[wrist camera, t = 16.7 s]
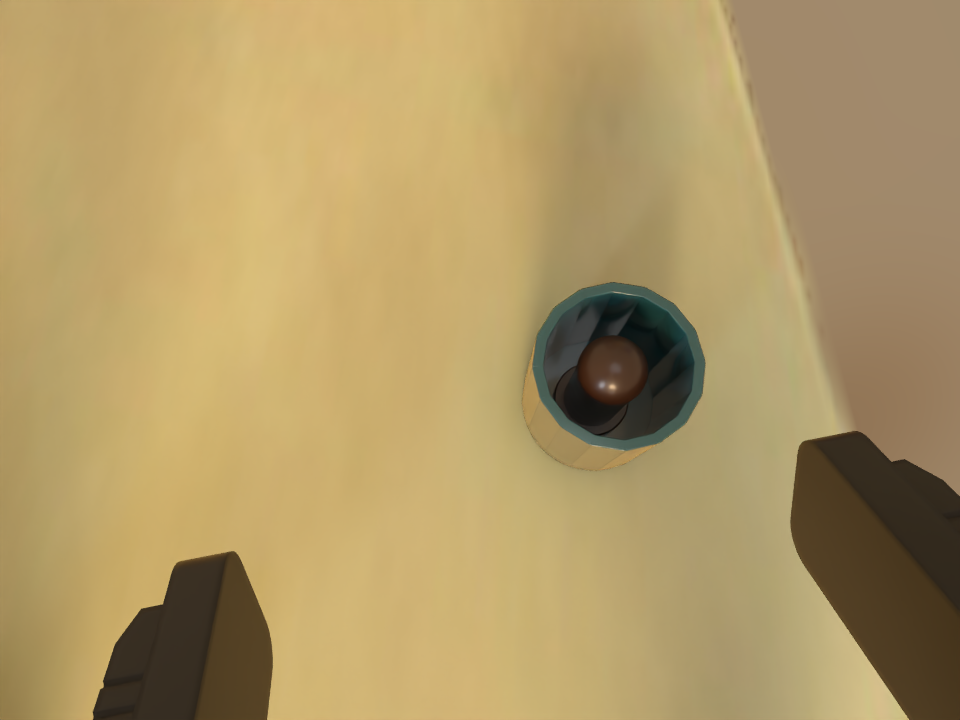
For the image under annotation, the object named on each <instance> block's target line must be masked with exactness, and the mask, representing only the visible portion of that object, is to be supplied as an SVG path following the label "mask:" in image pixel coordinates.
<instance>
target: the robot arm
mask: <svg viewBox="0 0 960 720" xmlns="http://www.w3.org/2000/svg"><path fill="white" fill-rule="evenodd" d="M790 523H791V533H792V537H793V541H794V545H795V548H796V550H797V553H798V555H799V557H800V559H801V561H802V563H803V564H804V566H805V567H806V569H807V570H808V572H809V573H810V575H811V576H812V578H813V579H814V580H815V582H816V583H817V585H818V586H819V588H820V589H821V591H822V592H823V594H824V595H825V597H826V598H827V600H828V601H829V602H830V604H831V605H832V607H833V608H834V610H835V611H836V613H837V614H838V616H839V617H840V619H841V620H842V622H843V623H844V624H845V626H846V627H847V629H848V630H849V632H850V633H851V635H852V636H853V638H854V639H855V641H856V642H857V644H858V645H859V646H860V648H861V649H862V651H863V652H864V654H865V655H866V657H867V658H868V660H869V661H870V663H871V664H872V666H873V667H874V669H875V670H876V671H877V673H878V674H879V676H880V677H881V679H882V680H883V682H884V683H885V685H886V686H887V688H888V689H889V691H890V692H891V693H892V695H893V696H894V698H895V699H896V701H897V702H898V704H899V705H900V707H901V708H902V710H903V711H904V713H905V714H906V715H907V717H908V718H909V720H960V496H959V495H958V494H956V492H955V491H954V490H952V489H951V488H950V487H949V486H948V485H947V484H946V483H945V482H944V481H943V480H942V479H940V478H938V477H936V476H934V475H933V474H931V473H929V472H927V471H925V470H923V469H921V468H920V467H918V466H916V465H914V464H912V463H910V462H909V461H907V460H905V459H904V460H898V461H893V462H891V461H890V460H889V459H888V458H887V457H886V456H885V455H884V454H883V453H882V452H881V451H880V450H879V449H878V448H877V447H876V445H874V443H873V442H872V441H871V440H870V439H869V438H868V437H867V436H865V435H864V434H863V433H861V432H858V431H852V432H847V433H842V434H837V435H832V436H827V437H822V438H817V439H812V440H807V441H804V442H802V443H801V445H800V446H799V449H798V454H797V464H796V473H795V482H794V491H793V501H792V510H791V521H790ZM272 668H273V655H272V644H271V638H270V633H269V629H268V625H267V623H266V620H265V618H264V615H263V613H262V610H261V608H260V605H259V603H258V601H257V598H256V596H255V593H254V591H253V588H252V586H251V584H250V581H249V579H248V576H247V574H246V571H245V569H244V566H243V564H242V562H241V560H240V558H239V556H238V555H237V553H236V552H234V551H231V552H226V553H221V554H215V555H210V556H205V557H200V558H195V559H190V560H185V561H180V562H178V563H177V564H176V565H175V566H174V568H173V571H172V574H171V577H170V581H169V585H168V588H167V592H166V595H165V599H164V603H163V605H158V606H153V607H148V608H143V609H141V610H140V611H139V613H138V614H137V615H136V617H135V618H134V619H133V621H132V622H131V623H130V625H129V626H128V627H127V629H126V630H125V632H124V633H123V634H122V636H121V637H120V638H119V640H118V641H117V642H116V644H115V646H114V649H113V652H112V655H111V658H110V661H109V665H108V668H107V671H106V674H105V677H104V680H103V683H104V688H103V689H100V692H99V695H98V698H97V701H96V704H95V707H94V710H93V715H94V718H93V720H267V715H268V706H269V697H270V688H271V678H272Z"/></svg>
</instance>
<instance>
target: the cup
mask: <svg viewBox="0 0 960 720" xmlns="http://www.w3.org/2000/svg"><path fill="white" fill-rule="evenodd" d="M609 335H615V336H621V337H624V338H627V339H629V340H631V341H632V342H634V343H635V344H636V345H638V347H639V348H640V349H641V350H642V352H643V353H644V355H645V357H646V360H647V363H648V378H647V382H646V384H645V386H644V388H643V390H642V391H641V393H640V394H639V395H638V396H637V397H636V398H634V399H633V400H631V401H630V402H628V409H627V412H626V415H625V417H624V419H623V420H622V422H621V423H620V424H619V425H618V426H617V427H616V428H615V429H614V430H613V431H611V432H610V433H608V434H606V435H604V436H599V435H594V434H592V433H591V432H589V431H587V430H586V429H584V428H583V427H581V426H579V425H578V424H576V423H574V422H573V421H571V420H569V419H568V418H567V416H566V415H565V414H564V412H563V411H562V410H561V408H560V407H559V406H558V404H557V403H556V402H555V400H554V399H553V394H554V390H555V388H556V385H557V383H558V381H559V379H560V378H561V377H562V375H563V374H564V373H565V372H566V371H568V370H569V369H571V368H572V367H574V366H576V365H577V364H578V360H579V357H580V355H581V353H582V351H583V350H584V349H585V348H586V346H587V345H588V344H590V343H591V342H592V341H594V340H596V339H598V338H600V337H604V336H609ZM704 373H705V358H704V355H703V352H702V349H701V345H700V342H699V339H698V336H697V332H696V330H695V329H694V327H693V326H692V325H691V324H690V322H689V321H688V320H687V319H686V317H685V316H684V315H683V314H682V313H681V311H680V310H679V309H678V308H677V306H676V305H675V304H674V303H672V302H670V301H669V300H667V299H665V298H663V297H662V296H660V295H658V294H656V293H655V292H653V291H651V290H649V289H648V288H645V287H641V286H635V285H628V284H622V283H616V282H613V283H612V282H610V283H606V284H601V285H597V286H592V287H588V288H583V289H581V290H578V291H577V292H576V293H574V294H573V295H571V296H570V297H568V298H567V299H565V300H564V301H563V302H561V303H560V304H558V305H557V306H555V307H554V308H553V310H552V311H551V313H550V314H549V316H548V318H547V319H546V321H545V322H544V324H543V326H542V327H541V329H540V330H539V332H538V334H537V336H536V340H535V344H534V347H533V351H532V355H531V359H530V362H529V366H528V370H527V374H526V378H525V384H524V390H523V397H522V405H523V412H524V418H525V421H526V424H527V427H528V429H529V431H530V433H531V435H532V436H533V438H534V439H535V441H536V442H537V443H538V445H539V446H540V447H541V448H542V449H543V450H544V451H545V452H546V453H547V454H548V455H550V456H551V457H552V458H554V459H555V460H557V461H559V462H561V463H563V464H565V465H567V466H570V467H573V468H577V469H581V470H590V471H593V470H595V471H597V470H598V471H599V470H605V469H610V468H613V467H616V466H620V465H623V464H626V463H627V462H629V461H631V460H632V459H634V458H636V457H637V456H639V455H641V454H642V453H644V452H646V451H647V450H649V449H651V448H652V447H654V446H656V445H657V444H659V443H661V442H662V441H663V440H665V439H666V438H667V437H669V436H670V435H671V434H673V433H674V432H675V431H677V430H678V429H679V428H681V427H682V426H683V425H685V424H686V423H687V421H688V419H689V418H690V416H691V414H692V412H693V410H694V409H695V407H696V405H697V403H698V402H699V400H700V398H701V396H702V393H703V384H704Z"/></svg>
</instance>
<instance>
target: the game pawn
mask: <svg viewBox="0 0 960 720" xmlns="http://www.w3.org/2000/svg"><path fill="white" fill-rule="evenodd" d="M647 378H648V363H647V360H646V357H645V355H644V353H643V352H642V350H641V349H640V348H639V347H638V345H636V344H635V343H634V342H632V341H631V340H629V339H627V338H624V337H621V336H615V335H609V336H604V337H600V338H598V339H596V340H594V341H592V342H591V343H590V344H588V345H587V346H586V348H585V349H584V350H583V351H582V353H581V355H580V357H579V360H578V364H577V365H576V366H574V367H572V368H571V369H569V370H568V371H566V372H565V373H564V374H563V375H562V377H561V378H560V379H559V381H558V383H557V385H556V388H555V390H554V394H553V399H554V400H555V402H556V403H557V404H558V406H559V407H560V408H561V410H562V411H563V412H564V414H565V415H566V416H567V418H568V419H569V420H571V421H573V422H574V423H576V424H578V425H579V426H581V427H583V428H584V429H586V430H587V431H589V432H591V433H592V434H594V435H599V436H604V435H606V434H608V433H610V432H611V431H613V430H614V429H615V428H616V427H617V426H618V425H619V424H620V423H621V422H622V420H623V419H624V417H625V415H626V412H627V409H628V402H630V401H631V400H633V399H634V398H636V397H637V396H638V395H639V394H640V393H641V391H642V390H643V388H644V386H645V384H646V382H647Z"/></svg>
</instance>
